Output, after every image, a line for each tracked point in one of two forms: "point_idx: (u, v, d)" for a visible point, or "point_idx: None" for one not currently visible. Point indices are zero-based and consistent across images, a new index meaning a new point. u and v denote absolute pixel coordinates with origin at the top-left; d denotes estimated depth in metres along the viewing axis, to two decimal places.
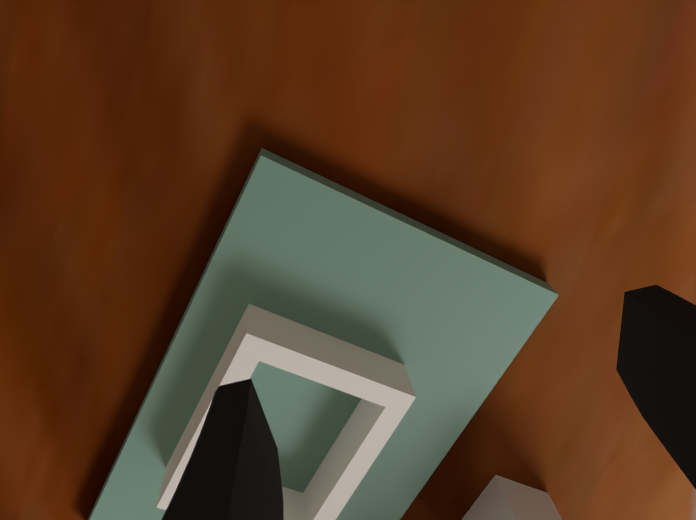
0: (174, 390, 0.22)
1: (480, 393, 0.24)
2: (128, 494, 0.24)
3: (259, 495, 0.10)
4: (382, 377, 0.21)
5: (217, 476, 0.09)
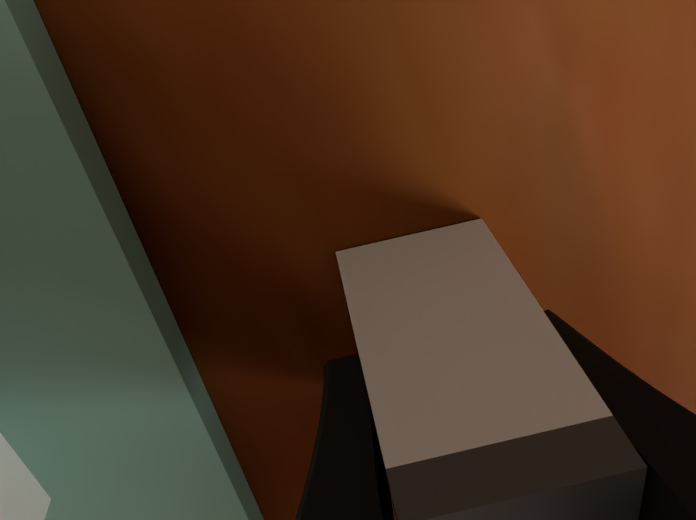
0: None
1: (36, 121, 0.09)
2: None
3: (381, 466, 0.10)
4: None
5: (354, 444, 0.09)
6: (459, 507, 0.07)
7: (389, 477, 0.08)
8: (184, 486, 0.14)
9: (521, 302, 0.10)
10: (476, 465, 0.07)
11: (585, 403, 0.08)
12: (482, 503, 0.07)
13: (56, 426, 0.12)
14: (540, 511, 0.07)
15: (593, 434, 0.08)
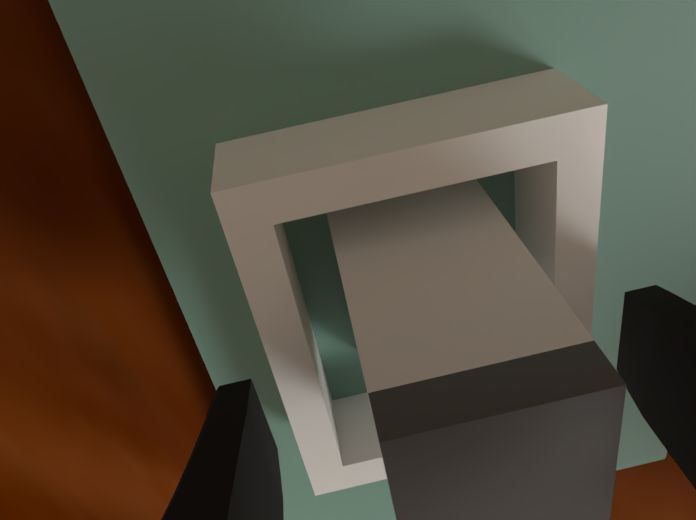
0: (229, 334, 0.13)
1: None
2: (291, 478, 0.17)
3: (259, 495, 0.10)
4: (518, 111, 0.10)
5: (217, 476, 0.09)
6: (439, 425, 0.07)
7: (371, 400, 0.08)
8: None
9: (506, 243, 0.10)
10: (458, 387, 0.08)
11: (567, 330, 0.08)
12: (463, 421, 0.07)
13: None
14: (520, 431, 0.07)
15: (574, 357, 0.08)
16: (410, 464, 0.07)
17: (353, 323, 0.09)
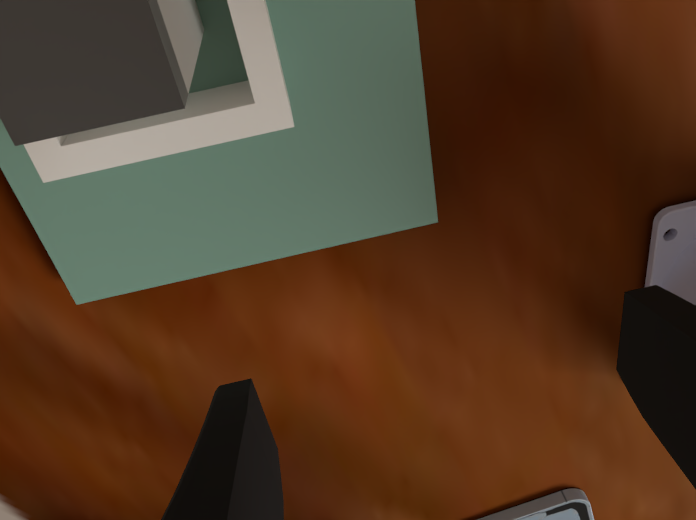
0: None
1: None
2: (62, 213, 0.18)
3: (259, 495, 0.10)
4: None
5: (217, 476, 0.09)
6: None
7: None
8: (389, 100, 0.17)
9: None
10: None
11: None
12: None
13: (311, 16, 0.16)
14: None
15: None
16: None
17: None
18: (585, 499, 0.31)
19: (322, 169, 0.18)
